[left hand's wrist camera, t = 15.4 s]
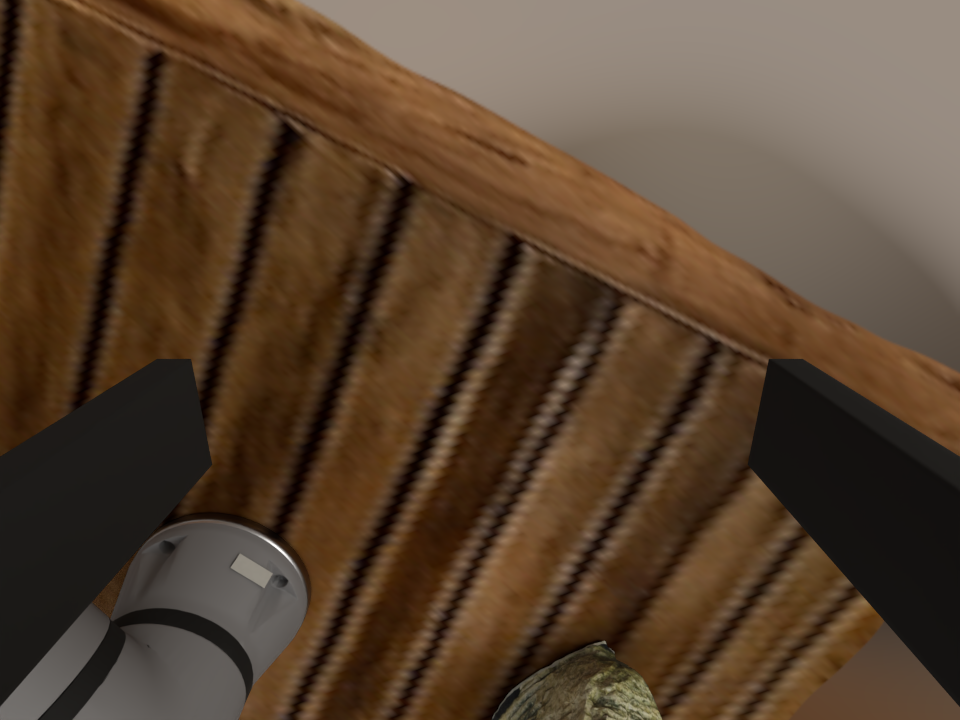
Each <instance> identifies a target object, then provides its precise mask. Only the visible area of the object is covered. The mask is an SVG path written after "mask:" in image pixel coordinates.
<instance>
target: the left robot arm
mask: <svg viewBox="0 0 960 720" xmlns="http://www.w3.org/2000/svg"><path fill="white" fill-rule="evenodd" d="M211 465H212V461H211V456H210V451H209V446H208V441H207V436H206V431H205V427H204V422H203V417H202V412H201V407H200V402H199V397H198V392H197V387H196V382H195V377H194V372H193V367H192V362H191V359H157V360H155V361H153V362H152V363H150V364H149V365H147V366H145V367H144V368H142V369H140V370H139V371H137V372H136V373H134V374H132V375H131V376H129V377H128V378H126V379H124V380H123V381H121V382H120V383H118V384H116V385H115V386H113V387H112V388H110V389H108V390H107V391H105V392H103V393H102V394H100V395H99V396H97V397H95V398H94V399H92V400H91V401H89V402H87V403H86V404H84V405H83V406H81V407H79V408H78V409H76V410H75V411H73V412H71V413H70V414H68V415H67V416H65V417H63V418H62V419H60V420H58V421H57V422H55V423H54V424H52V425H50V426H49V427H47V428H46V429H44V430H42V431H41V432H39V433H38V434H36V435H34V436H33V437H31V438H30V439H28V440H26V441H25V442H23V443H22V444H20V445H18V446H17V447H15V448H13V449H12V450H10V451H9V452H7V453H5V454H4V455H2V456H1V457H0V720H238V719H239V717H240V714H241V712H242V710H243V707H244V704H245V702H246V700H247V698H248V695H249V693H250V691H251V688H252V686H253V685H254V683H255V682H256V681H257V680H258V679H259V678H260V677H261V675H262V674H263V673H264V672H265V671H266V670H267V669H268V667H269V666H270V665H271V664H272V663H273V662H274V661H275V659H276V658H277V657H278V656H279V655H280V654H281V653H282V651H283V650H284V649H285V648H286V647H287V646H288V644H289V643H290V642H291V641H292V640H293V638H294V637H295V635H296V633H297V632H298V630H299V628H300V627H301V625H302V623H303V620H304V618H305V615H306V613H307V610H308V607H309V604H310V599H311V584H310V579H309V575H308V573H307V570H306V568H305V566H304V563H303V562H302V560H301V559H300V557H299V556H298V554H297V553H296V552H295V550H294V549H293V548H292V547H291V546H290V545H289V544H288V543H287V542H286V541H285V540H284V539H282V538H281V537H280V536H278V535H277V534H276V533H274V532H273V531H271V530H270V529H268V528H266V527H264V526H262V525H260V524H258V523H256V522H253V521H251V520H248V519H245V518H242V517H238V516H234V515H228V514H220V513H200V514H193V515H188V516H184V517H181V518H178V519H175V520H173V521H171V522H169V523H167V524H165V525H164V526H162V527H161V528H159V529H158V530H157V531H156V532H155V533H154V534H153V535H152V536H151V537H150V538H149V539H148V540H147V538H148V537H149V536H150V535H151V534H152V533H153V532H154V530H155V529H156V528H157V527H158V526H159V525H160V524H161V522H162V521H163V520H164V519H165V518H166V517H167V516H168V514H169V513H170V512H171V511H172V510H173V509H174V508H175V506H176V505H177V504H178V503H179V502H180V501H181V500H182V498H183V497H184V496H185V495H186V494H187V493H188V492H189V490H190V489H191V488H192V487H193V486H194V485H195V484H196V482H197V481H198V480H199V479H200V478H201V477H202V476H203V474H204V473H205V472H206V471H207V470H208V469H209V468H210V466H211ZM748 465H749V466H750V468H751V469H752V470H753V471H754V472H755V473H756V474H757V476H758V477H759V478H760V479H761V480H762V481H763V482H764V484H765V485H766V486H767V487H768V488H769V489H770V490H771V492H772V493H773V494H774V495H775V496H776V497H777V498H778V500H779V501H780V502H781V503H782V504H783V505H784V506H785V508H786V509H787V510H788V511H789V512H790V513H791V514H792V516H793V517H794V518H795V519H796V520H797V521H798V522H799V524H800V525H801V526H802V527H803V528H804V529H805V530H806V532H807V533H808V534H809V535H810V536H811V537H812V538H813V540H814V541H815V542H816V543H817V544H818V545H819V546H820V548H821V549H822V550H823V551H824V552H825V553H826V554H827V556H828V557H829V558H830V559H831V560H832V561H833V562H834V564H835V565H836V566H837V567H838V568H839V569H840V570H841V572H842V573H843V574H844V575H845V576H846V577H847V578H848V580H849V581H850V582H851V583H852V584H853V585H854V586H855V588H856V589H857V590H858V591H859V592H860V593H861V594H862V596H863V597H864V598H865V599H866V600H867V601H868V602H869V604H870V605H871V606H872V607H873V608H874V609H875V610H876V612H877V613H878V614H879V615H880V616H881V617H882V618H883V620H884V621H885V622H886V623H887V624H888V625H889V626H890V628H891V629H892V630H893V631H894V632H895V633H896V634H897V636H898V637H899V638H900V639H901V640H902V641H903V642H904V644H905V645H906V646H907V647H908V648H909V649H910V650H911V652H912V653H913V654H914V655H915V656H916V657H917V658H918V660H919V661H920V662H921V663H922V664H923V665H924V666H925V668H926V669H927V670H928V671H929V672H930V673H931V674H932V676H933V677H934V678H935V679H936V680H937V681H938V683H939V684H940V685H941V686H942V687H943V688H944V689H945V690H946V692H947V693H948V694H949V695H950V696H951V697H952V699H953V700H954V701H955V702H956V703H957V704H958V705H959V706H960V457H959V456H958V455H956V454H955V453H953V452H951V451H950V450H948V449H947V448H945V447H943V446H942V445H940V444H938V443H937V442H935V441H934V440H932V439H930V438H929V437H927V436H926V435H924V434H922V433H921V432H919V431H918V430H916V429H914V428H913V427H911V426H910V425H908V424H906V423H905V422H903V421H902V420H900V419H898V418H897V417H895V416H893V415H892V414H890V413H889V412H887V411H885V410H884V409H882V408H881V407H879V406H877V405H876V404H874V403H873V402H871V401H869V400H868V399H866V398H865V397H863V396H861V395H860V394H858V393H857V392H855V391H853V390H852V389H850V388H848V387H847V386H845V385H844V384H842V383H840V382H839V381H837V380H836V379H834V378H832V377H831V376H829V375H828V374H826V373H824V372H823V371H821V370H820V369H818V368H816V367H815V366H813V365H811V364H810V363H808V362H807V361H805V360H803V359H769V362H768V367H767V372H766V377H765V382H764V387H763V392H762V397H761V402H760V407H759V412H758V417H757V422H756V427H755V431H754V436H753V441H752V446H751V451H750V456H749V461H748ZM146 540H147V541H146ZM145 541H146V543H145V544H144V545H143V546H142V547H141V549H140V550H139V551H138V553H137V555H136V556H135V558H134V559H133V561H132V563H131V565H130V567H129V569H128V572H127V574H126V577H125V580H124V583H123V585H122V588H121V591H120V594H119V597H118V599H117V602H116V605H115V608H114V610H113V613H112V616H111V619H110V618H109V617H108V616H107V615H106V614H104V613H103V612H102V611H101V610H100V609H99V608H98V607H96V606H95V605H94V604H93V603H92V601H93V600H94V599H95V598H96V597H97V596H98V594H99V593H100V592H101V591H102V590H103V589H104V588H105V586H106V585H107V584H108V583H109V582H110V581H111V580H112V578H113V577H114V576H115V575H116V574H117V573H118V572H119V570H120V569H121V568H122V567H123V566H124V565H125V564H126V562H127V561H128V560H129V559H130V558H131V557H132V556H133V554H134V553H135V552H136V551H137V550H138V549H139V548H140V546H141V545H142V544H143V543H144V542H145Z"/></svg>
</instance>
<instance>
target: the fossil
mask: <svg viewBox="0 0 960 720" xmlns="http://www.w3.org/2000/svg"><path fill="white" fill-rule="evenodd" d="M492 720H662V718H661V715H660V713H659V711H658V708H657V706H656V703H655V700H654V698H653V696H652V694H651V692H650V690H649V689H648V685H647V684H646V683H645V681H644V679H643V678H642V676H641V675H640V674H638V673H637V672H636V671H635V670H634V669H632V668H630V667H629V666H628V665H626V664H624V663H622V662H620V661H618V660H616V658H615V654H614V651H613V650H611V649H610V648H608V647H607V644H606V642H605V641H602V642H598V643H594V644H591V645H588V646H586V647H585V648H583V649H581V650H578V651H576V652H574V653H571V654H569V655H567V656H565V657H564V658H562V659H559V660H557V661H555V662H554V663H553V664H552V665H551V666H548V667H546V668H543V669H541V670H539V671H538V672H536V673H535V674H533V675H532V676H530V677H529V678H527V679H526V680H524V681H523V682H521V683H520V684H519V685H518V686H516V687H515V688H514V689H512V690H511V692H510V693H509V694H508V695H507V696H506V698H505V699H504V700H503V702H502V703H501V704H500V706H499V709H498V710H497V711H496V712H495V713H494V715H493V717H492Z"/></svg>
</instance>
